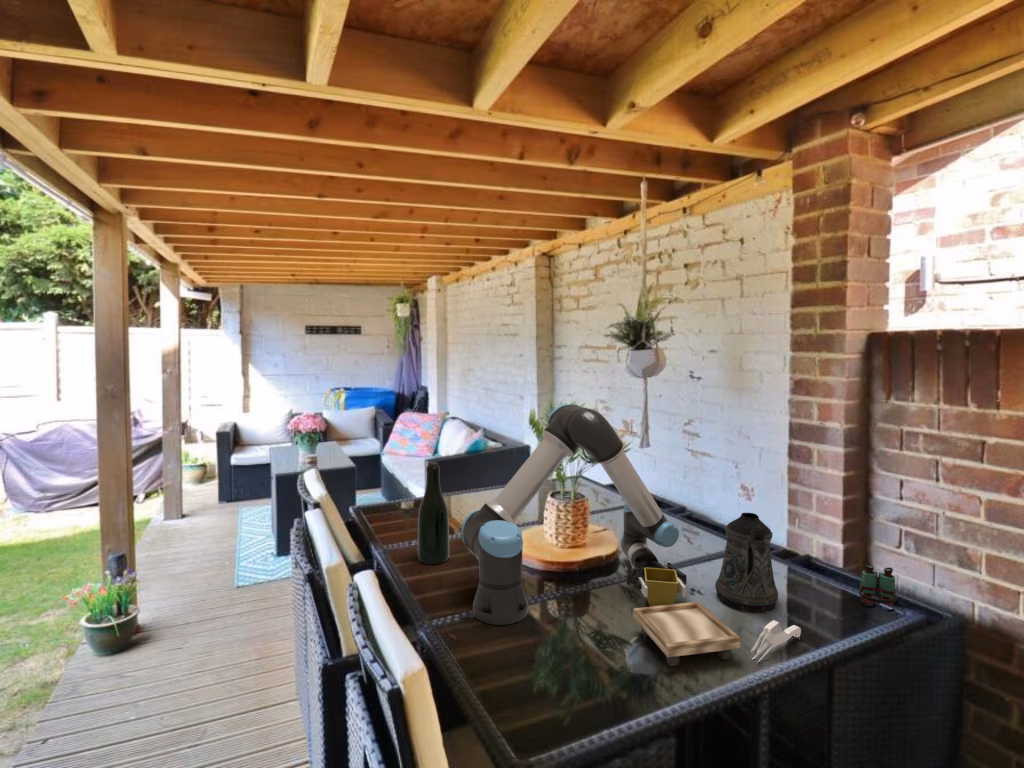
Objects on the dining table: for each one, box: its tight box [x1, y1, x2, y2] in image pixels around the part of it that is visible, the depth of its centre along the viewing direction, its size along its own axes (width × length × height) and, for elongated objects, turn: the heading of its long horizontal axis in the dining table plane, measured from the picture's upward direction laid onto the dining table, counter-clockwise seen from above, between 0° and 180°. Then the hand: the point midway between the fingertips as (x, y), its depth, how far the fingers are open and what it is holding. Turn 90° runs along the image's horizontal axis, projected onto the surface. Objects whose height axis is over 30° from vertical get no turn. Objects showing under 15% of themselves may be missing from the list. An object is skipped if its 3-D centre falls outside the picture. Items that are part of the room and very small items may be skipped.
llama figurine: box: [749, 619, 802, 663], centre depth 134 cm, size 2×11×18 cm
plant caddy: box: [633, 601, 741, 667], centre depth 135 cm, size 18×18×6 cm
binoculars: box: [859, 563, 899, 607], centre depth 157 cm, size 9×11×10 cm
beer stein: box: [714, 512, 779, 614], centre depth 158 cm, size 16×19×25 cm
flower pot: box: [644, 568, 679, 607], centre depth 156 cm, size 9×9×9 cm
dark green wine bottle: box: [417, 461, 450, 565], centre depth 187 cm, size 10×10×33 cm
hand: (665, 592), depth 151 cm, fingers closed on flower pot, 10 cm apart
